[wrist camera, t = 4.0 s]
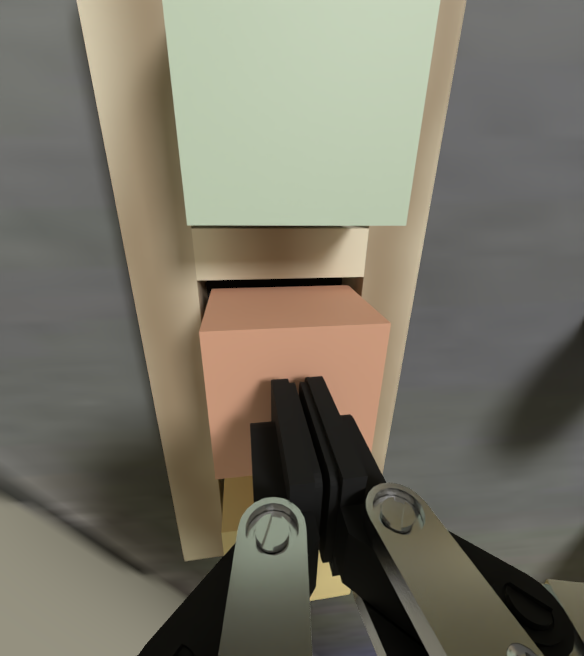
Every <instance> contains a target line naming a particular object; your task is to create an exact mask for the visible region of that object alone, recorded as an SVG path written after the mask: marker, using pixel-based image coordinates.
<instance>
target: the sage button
mask: <svg viewBox="0 0 584 656" xmlns="http://www.w3.org/2000/svg"><path fill="white" fill-rule="evenodd" d="M162 4H163V13H164V22H165V31H166V40H167V49H168V58H169V67H170V76H171V85H172V94H173V103H174V112H175V121H176V130H177V139H178V148H179V157H180V166H181V175H182V184H183V193H184V201H185V210H186V219H187V225H255V226H406V223H407V216H408V210H409V203H410V196H411V190H412V183H413V177H414V170H415V164H416V157H417V151H418V144H419V137H420V131H421V124H422V118H423V111H424V105H425V98H426V92H427V85H428V79H429V72H430V65H431V59H432V52H433V46H434V39H435V33H436V26H437V20H438V13H439V6H440V0H162Z"/></svg>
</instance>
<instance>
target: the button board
mask: <svg viewBox="0 0 584 656" xmlns="http://www.w3.org/2000/svg"><path fill="white" fill-rule="evenodd" d="M77 5H78V10H79V15H80V21H81V26H82V31H83V36H84V41H85V47H86V52H87V57H88V62H89V67H90V73H91V78H92V83H93V88H94V93H95V99H96V104H97V109H98V114H99V119H100V125H101V130H102V135H103V140H104V145H105V151H106V156H107V161H108V166H109V171H110V177H111V182H112V187H113V192H114V197H115V203H116V208H117V213H118V218H119V223H120V228H121V234H122V239H123V244H124V249H125V254H126V260H127V265H128V270H129V275H130V280H131V286H132V291H133V296H134V301H135V306H136V312H137V317H138V322H139V327H140V332H141V338H142V343H143V348H144V353H145V358H146V364H147V369H148V374H149V379H150V384H151V390H152V395H153V400H154V405H155V410H156V416H157V421H158V426H159V431H160V436H161V442H162V447H163V452H164V457H165V462H166V468H167V473H168V478H169V483H170V488H171V494H172V499H173V504H174V509H175V514H176V520H177V525H178V530H179V535H180V540H181V546H182V551H183V556H184V561H190V560H197V559H204V558H211V557H218V556H224V552H223V543H222V534H221V531H222V513H223V495H224V479H216V480H215V471H214V462H213V453H212V444H211V435H210V426H209V417H208V408H207V399H206V390H205V381H204V372H203V363H202V354H201V345H200V336H199V330H200V327H201V323H202V320H203V317H204V313H205V310H206V307H207V303H208V295H207V284H206V280H243V279H288V278H333V277H342V285H348V286H350V287H351V288H352V289H353V290H354V291H355V292H356V293H357V294H359V295H360V296H361V297H362V298H363V299H364V300H365V301H366V302H368V303H369V304H370V305H371V306H372V307H373V308H374V309H376V310H377V311H378V312H379V313H380V314H381V315H382V316H383V317H385V318H386V319H387V320H388V321H389V322H390V323H391V327H390V334H389V341H388V347H387V354H386V360H385V367H384V373H383V380H382V386H381V393H380V399H379V406H378V413H377V419H376V426H375V432H374V439H373V445H372V452H371V453H372V455H373V457H374V459H375V461H376V463H377V465H378V467H379V469H380V471H381V473H382V474H383V468H384V462H385V457H386V451H387V445H388V440H389V434H390V428H391V423H392V417H393V411H394V406H395V400H396V395H397V389H398V383H399V378H400V372H401V366H402V361H403V355H404V349H405V344H406V338H407V332H408V327H409V321H410V316H411V310H412V304H413V299H414V293H415V287H416V282H417V276H418V270H419V265H420V259H421V254H422V248H423V242H424V237H425V231H426V225H427V220H428V214H429V208H430V203H431V197H432V191H433V186H434V180H435V175H436V169H437V163H438V158H439V152H440V146H441V141H442V135H443V129H444V124H445V118H446V112H447V107H448V101H449V96H450V90H451V84H452V79H453V73H454V67H455V62H456V56H457V50H458V45H459V39H460V33H461V28H462V22H463V17H464V11H465V5H466V0H440V6H439V13H438V20H437V26H436V33H435V39H434V46H433V52H432V59H431V65H430V72H429V79H428V85H427V92H426V98H425V105H424V111H423V118H422V124H421V131H420V137H419V144H418V151H417V157H416V164H415V170H414V177H413V183H412V190H411V196H410V203H409V210H408V216H407V223H406V226H255V225H187V219H186V210H185V201H184V193H183V184H182V175H181V166H180V157H179V148H178V139H177V130H176V121H175V112H174V103H173V94H172V85H171V76H170V67H169V58H168V49H167V40H166V31H165V22H164V13H163V4H162V0H77Z"/></svg>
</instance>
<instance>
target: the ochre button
mask: <svg viewBox="0 0 584 656" xmlns="http://www.w3.org/2000/svg"><path fill="white" fill-rule="evenodd" d="M253 503H254V499H253V478H252V476H243V477H234V478H225V479H224V495H223V513H222V531H221V534H222V543H223V552H224V555H225V554H226V553H227V552H228V551H229V550H230V548H231V547H232V546H233V545H234V544H235V543H236V537H237V531H238V526H239V523H240V520H241V517H242V515H243V514H244V512H245V511H246V510H247V508H249V507H250V506H251V505H252V504H253ZM348 594H350V588H348V587H347V586H346V585H344V584H343V583H342V581H341V577H340V575H339V576H333V577H332V573H331V569H330V565H329V562H327V563H322V560H321V557H320V552H319V554H318V567H317V580H316V588H315V590H314V591H313V593H312V595H311V597H310V601H313V600H319V599H324V598H330V597H336V596H342V595H348Z"/></svg>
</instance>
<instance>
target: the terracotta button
mask: <svg viewBox="0 0 584 656" xmlns="http://www.w3.org/2000/svg"><path fill="white" fill-rule="evenodd" d="M390 327H391V323H390V322H389V321H388V320H387V319H386V318H385V317H383V316H382V315H381V314H380V313H379V312H378V311H377V310H376V309H374V308H373V307H372V306H371V305H370V304H369V303H368V302H366V301H365V300H364V299H363V298H362V297H361V296H360V295H359V294H357V293H356V292H355V291H354V290H353V289H352V288H351V287H350V286H348V285H336V286H297V287H259V288H220V289H212V290H211V293H210V296H209V300H208V303H207V307H206V310H205V313H204V317H203V320H202V323H201V327H200V330H199V336H200V345H201V354H202V363H203V372H204V381H205V390H206V399H207V408H208V417H209V426H210V435H211V444H212V453H213V462H214V471H215V480H216V479H225V478H234V477H243V476H252V457H251V436H250V423H259V422H270V421H271V380H273V379H287V378H288V380H289V383H293V382H295V384H296V388H297V391H298V395H299V382H304V381H305V377H315V376H323V378H324V380H325V382H326V385H327V387H328V389H329V391H330V394H331V396H332V398H333V400H334V402H335V405H336V407H337V409H338V411H339V414H340V415H347V414H350V415H352V416H353V418H354V420H355V422H356V424H357V426H358V428H359V430H360V432H361V434H362V435H363V437H364V439H365V441H366V443H367V445H368V447H369V449H370V451H371V452H372V445H373V439H374V432H375V426H376V419H377V413H378V406H379V399H380V393H381V386H382V380H383V373H384V367H385V360H386V354H387V347H388V341H389V334H390Z"/></svg>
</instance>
